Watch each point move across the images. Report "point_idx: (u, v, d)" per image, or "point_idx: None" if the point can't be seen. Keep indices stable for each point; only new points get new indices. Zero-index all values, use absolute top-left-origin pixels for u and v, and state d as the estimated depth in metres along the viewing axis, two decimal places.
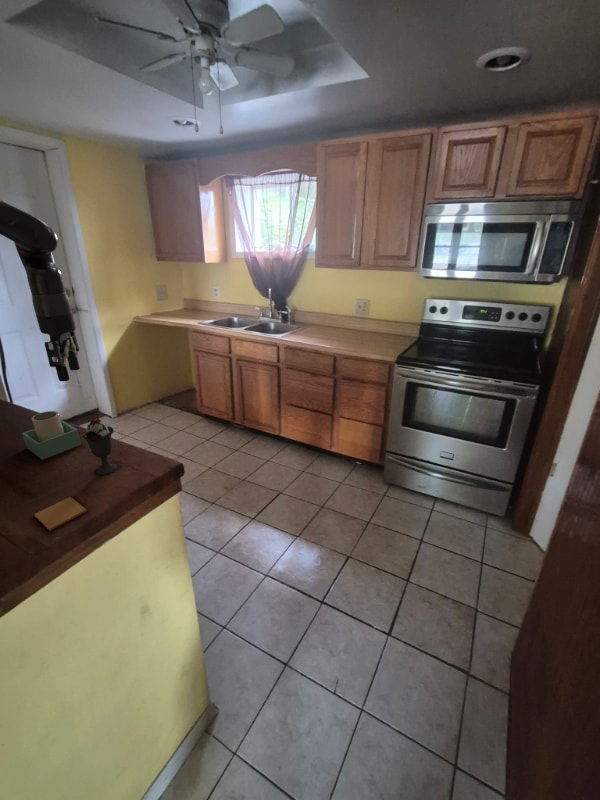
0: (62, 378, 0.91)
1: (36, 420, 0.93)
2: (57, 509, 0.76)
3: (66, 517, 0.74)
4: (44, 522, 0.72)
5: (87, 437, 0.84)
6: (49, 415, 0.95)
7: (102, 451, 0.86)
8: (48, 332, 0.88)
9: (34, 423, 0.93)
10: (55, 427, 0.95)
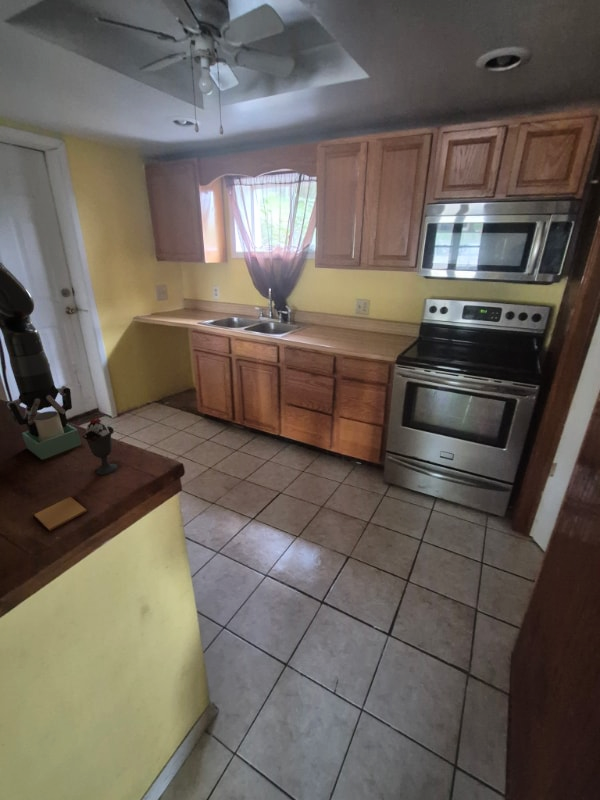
0: (30, 433, 0.94)
1: (36, 420, 0.93)
2: (57, 509, 0.76)
3: (66, 517, 0.74)
4: (44, 522, 0.72)
5: (87, 437, 0.84)
6: (49, 415, 0.95)
7: (102, 451, 0.86)
8: (18, 389, 0.90)
9: None
10: (55, 427, 0.95)
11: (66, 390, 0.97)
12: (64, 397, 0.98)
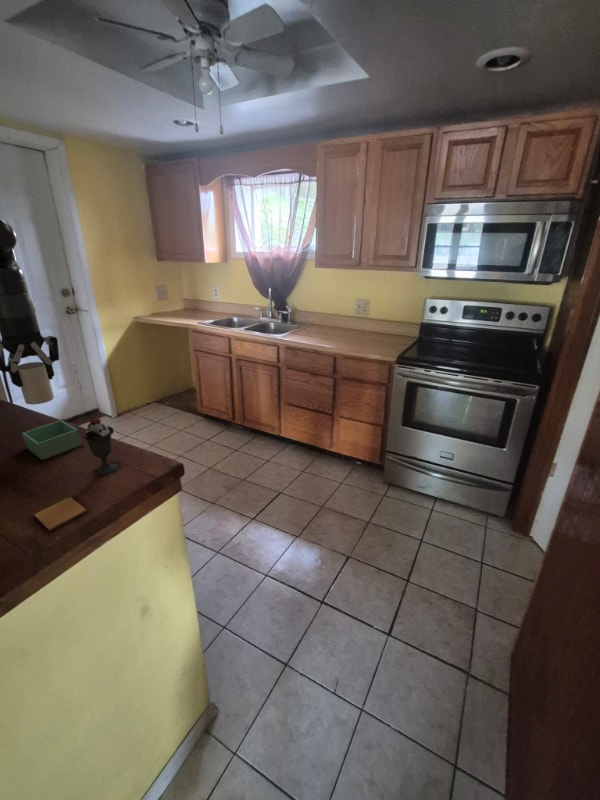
0: (13, 383, 0.87)
1: (20, 368, 0.87)
2: (57, 509, 0.76)
3: (66, 517, 0.74)
4: (44, 522, 0.72)
5: (87, 437, 0.84)
6: (34, 365, 0.89)
7: (102, 451, 0.86)
8: (0, 333, 0.84)
9: None
10: (41, 378, 0.89)
11: (53, 339, 0.91)
12: (51, 347, 0.92)
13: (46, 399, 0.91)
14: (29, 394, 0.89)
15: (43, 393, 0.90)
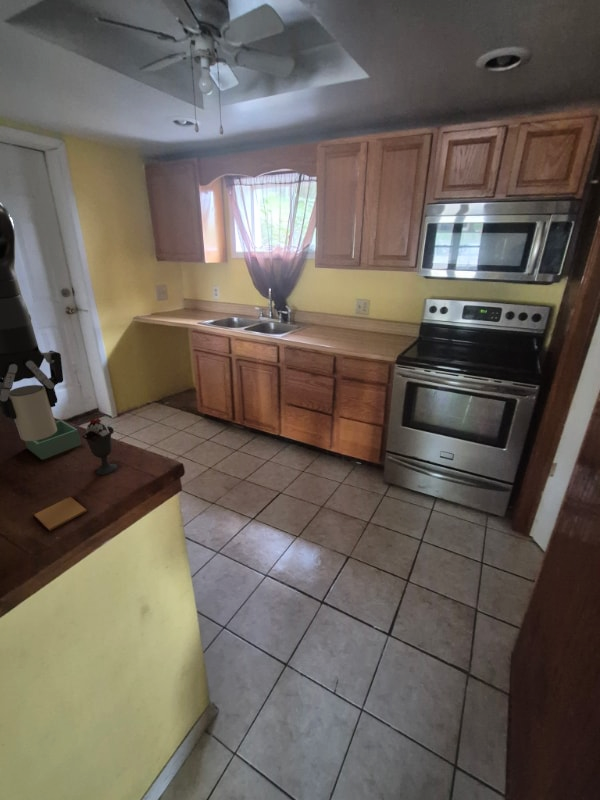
0: (4, 415, 0.67)
1: (12, 395, 0.66)
2: (57, 509, 0.76)
3: (66, 517, 0.74)
4: (44, 522, 0.72)
5: (87, 437, 0.84)
6: (31, 390, 0.68)
7: (102, 451, 0.86)
8: None
9: None
10: (40, 406, 0.68)
11: (55, 355, 0.70)
12: (52, 365, 0.71)
13: (47, 433, 0.70)
14: (25, 428, 0.68)
15: (43, 426, 0.69)
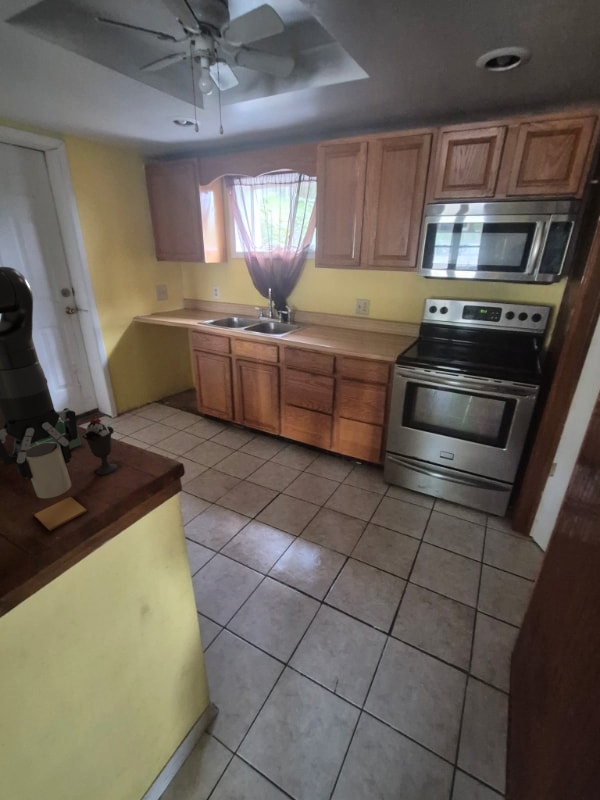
0: (21, 475, 0.68)
1: (29, 456, 0.67)
2: (57, 509, 0.76)
3: (66, 517, 0.74)
4: (44, 522, 0.72)
5: (87, 437, 0.84)
6: (47, 449, 0.70)
7: (102, 451, 0.86)
8: (3, 415, 0.64)
9: None
10: (55, 465, 0.70)
11: (70, 414, 0.71)
12: (67, 423, 0.72)
13: (62, 490, 0.72)
14: (41, 487, 0.69)
15: (58, 484, 0.71)
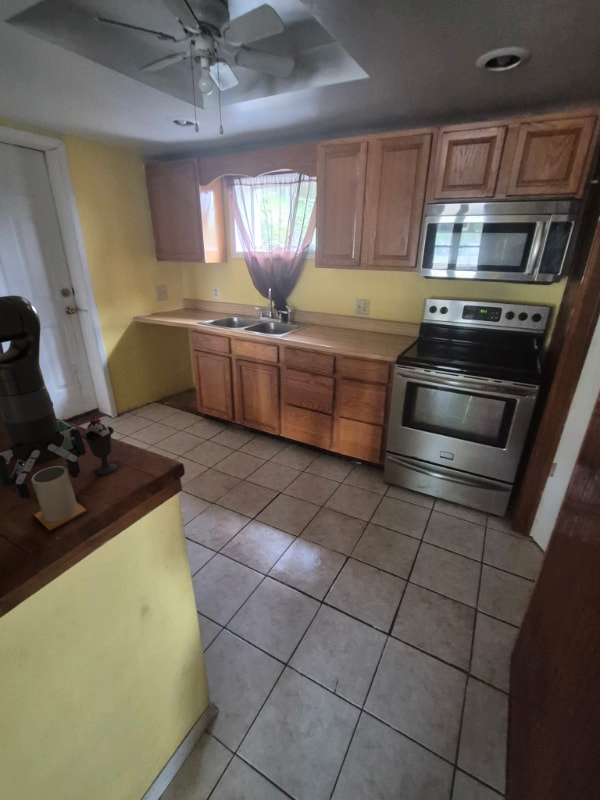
0: (19, 495, 0.69)
1: (37, 482, 0.70)
2: None
3: None
4: (44, 522, 0.72)
5: (87, 437, 0.84)
6: (54, 474, 0.72)
7: (102, 451, 0.86)
8: None
9: (35, 486, 0.70)
10: (63, 490, 0.72)
11: (74, 432, 0.73)
12: (73, 441, 0.74)
13: (69, 513, 0.74)
14: (49, 511, 0.72)
15: (66, 507, 0.73)
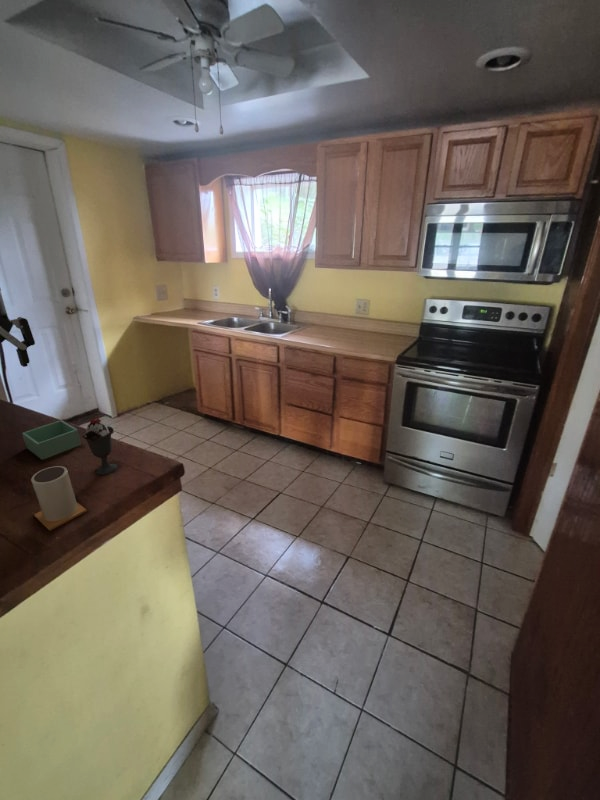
0: None
1: (37, 482, 0.70)
2: None
3: None
4: (44, 522, 0.72)
5: (87, 437, 0.84)
6: (54, 474, 0.72)
7: (102, 451, 0.86)
8: None
9: (35, 486, 0.70)
10: (63, 490, 0.72)
11: (22, 321, 0.79)
12: (22, 330, 0.80)
13: (69, 513, 0.74)
14: (49, 511, 0.72)
15: (66, 507, 0.73)
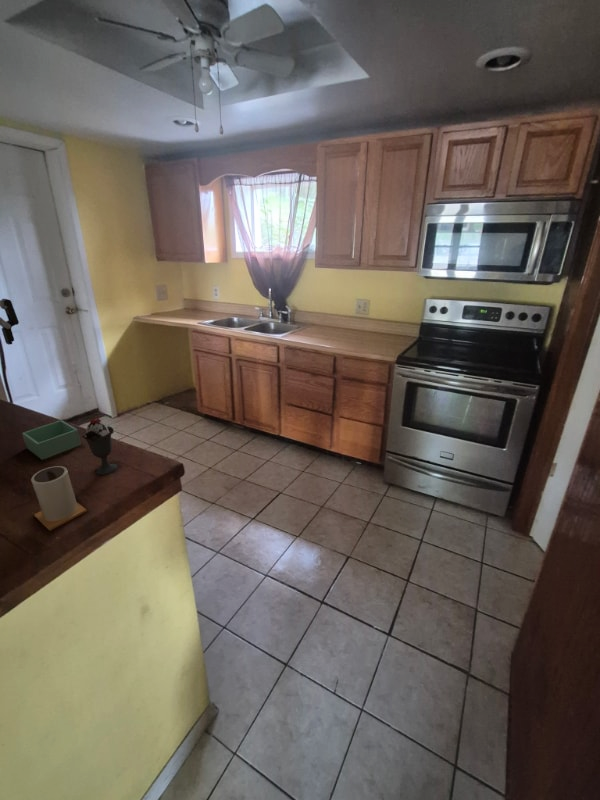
0: None
1: (37, 482, 0.70)
2: None
3: None
4: (44, 522, 0.72)
5: (87, 437, 0.84)
6: (54, 474, 0.72)
7: (102, 451, 0.86)
8: None
9: (35, 486, 0.70)
10: (63, 490, 0.72)
11: (6, 302, 0.86)
12: (7, 311, 0.88)
13: (69, 513, 0.74)
14: (49, 511, 0.72)
15: (66, 507, 0.73)
